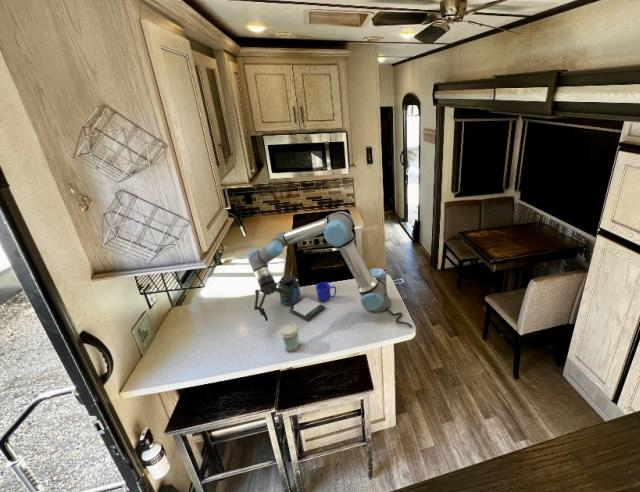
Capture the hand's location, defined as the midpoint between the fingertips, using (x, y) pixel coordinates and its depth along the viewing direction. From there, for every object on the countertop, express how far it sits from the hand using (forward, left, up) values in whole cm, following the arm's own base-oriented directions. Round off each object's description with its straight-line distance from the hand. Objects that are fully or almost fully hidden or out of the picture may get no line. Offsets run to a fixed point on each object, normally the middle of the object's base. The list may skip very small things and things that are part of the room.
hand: (280, 314), depth 167 cm
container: (+23, -23, -15) cm, 35 cm away
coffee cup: (-9, +2, -15) cm, 18 cm away
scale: (+7, -22, -15) cm, 27 cm away
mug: (+5, -36, -15) cm, 39 cm away
